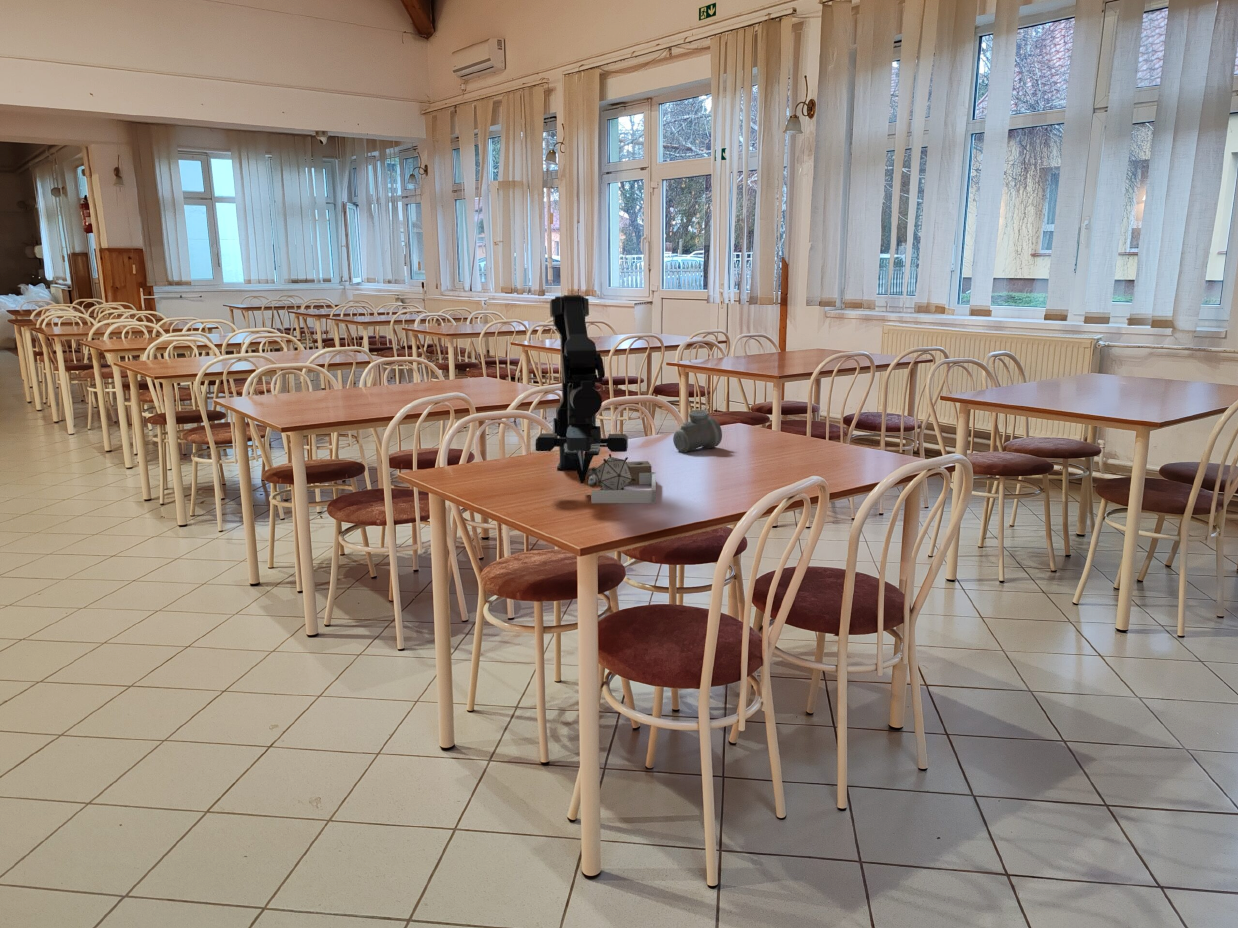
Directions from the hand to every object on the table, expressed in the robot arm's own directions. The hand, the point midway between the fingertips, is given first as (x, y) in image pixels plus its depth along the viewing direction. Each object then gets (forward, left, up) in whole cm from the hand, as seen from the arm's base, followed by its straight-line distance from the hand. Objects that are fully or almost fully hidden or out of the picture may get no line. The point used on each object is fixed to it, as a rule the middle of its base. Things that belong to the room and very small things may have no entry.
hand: (582, 483), depth 181 cm
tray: (0, +8, -2) cm, 9 cm away
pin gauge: (-10, +1, -2) cm, 10 cm away
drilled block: (-10, +11, -2) cm, 15 cm away
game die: (0, +6, -2) cm, 7 cm away
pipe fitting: (-45, +25, -2) cm, 52 cm away
